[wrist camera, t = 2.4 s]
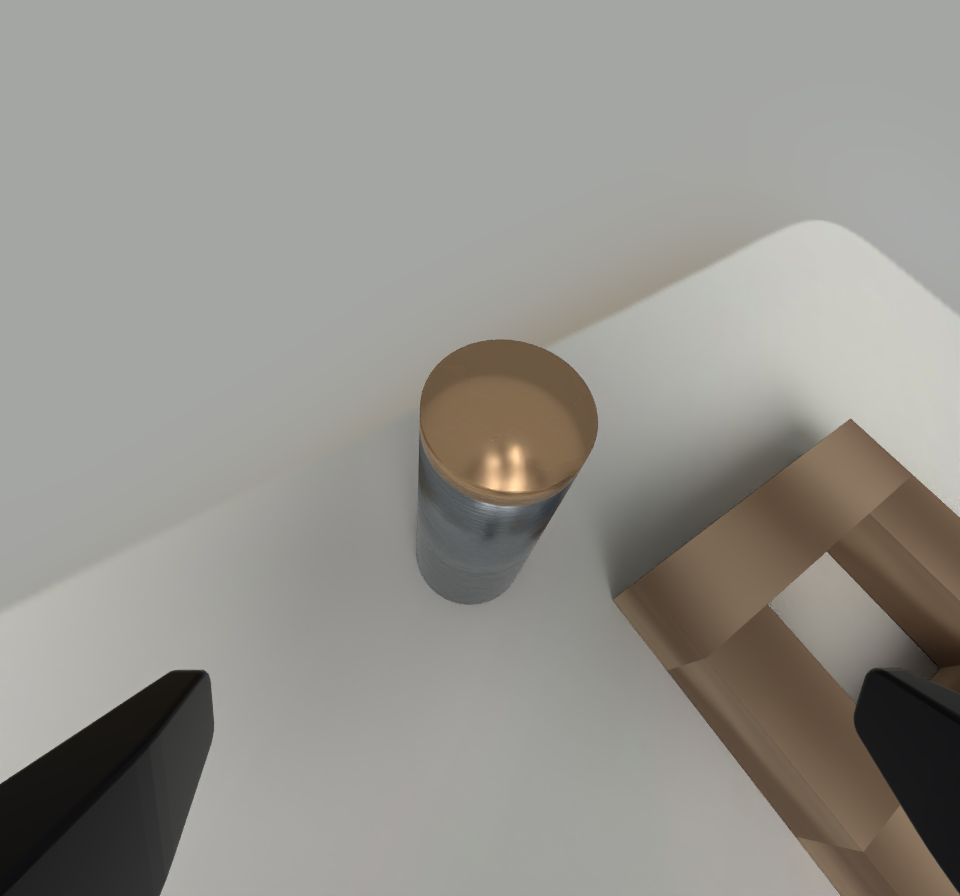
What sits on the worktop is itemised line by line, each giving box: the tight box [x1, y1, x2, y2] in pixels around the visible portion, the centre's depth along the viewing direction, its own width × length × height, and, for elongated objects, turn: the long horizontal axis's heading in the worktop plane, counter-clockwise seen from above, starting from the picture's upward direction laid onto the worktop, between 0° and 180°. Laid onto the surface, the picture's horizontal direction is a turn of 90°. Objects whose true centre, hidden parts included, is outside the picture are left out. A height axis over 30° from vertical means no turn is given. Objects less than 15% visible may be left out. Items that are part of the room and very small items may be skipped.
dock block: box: [613, 419, 960, 896], centre depth 19 cm, size 12×12×3 cm
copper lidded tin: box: [417, 340, 598, 604], centre depth 16 cm, size 4×4×10 cm
